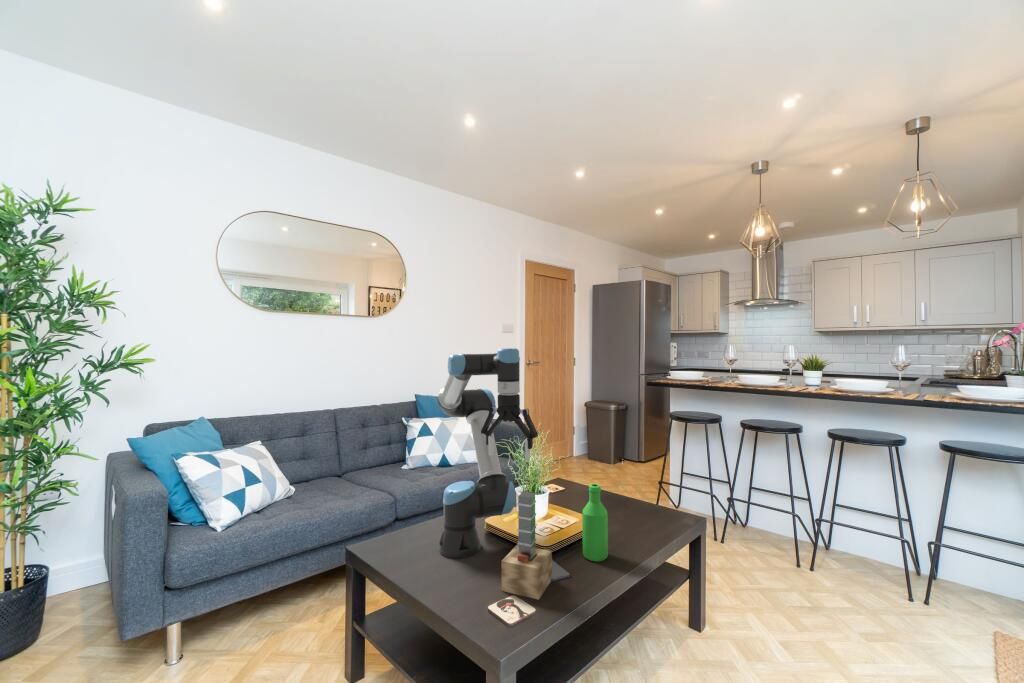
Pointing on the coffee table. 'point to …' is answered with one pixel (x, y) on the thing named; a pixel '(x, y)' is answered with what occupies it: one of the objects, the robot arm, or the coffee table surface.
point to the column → (526, 524)
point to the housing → (526, 573)
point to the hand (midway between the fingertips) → (509, 456)
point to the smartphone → (558, 572)
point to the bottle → (595, 527)
